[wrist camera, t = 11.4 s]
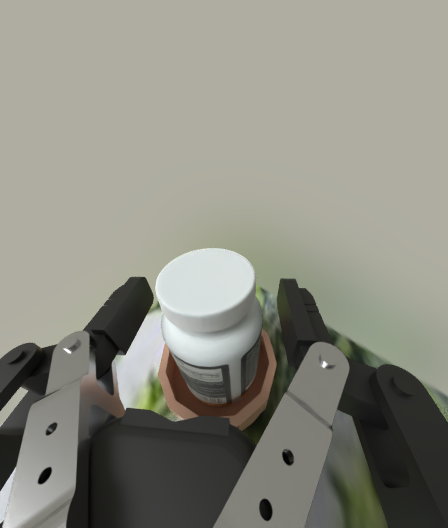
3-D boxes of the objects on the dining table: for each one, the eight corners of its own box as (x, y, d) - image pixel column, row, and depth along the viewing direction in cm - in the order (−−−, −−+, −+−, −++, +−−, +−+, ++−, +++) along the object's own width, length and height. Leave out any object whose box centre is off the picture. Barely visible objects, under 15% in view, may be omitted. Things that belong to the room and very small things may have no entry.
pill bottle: (229, 323, 17) (223, 233, 11) (271, 377, 13) (297, 281, 7) (174, 357, 15) (131, 265, 9) (206, 433, 11) (167, 360, 5)
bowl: (282, 344, 16) (285, 328, 14) (249, 471, 10) (250, 467, 9) (204, 313, 19) (200, 297, 18) (146, 395, 14) (134, 383, 12)
